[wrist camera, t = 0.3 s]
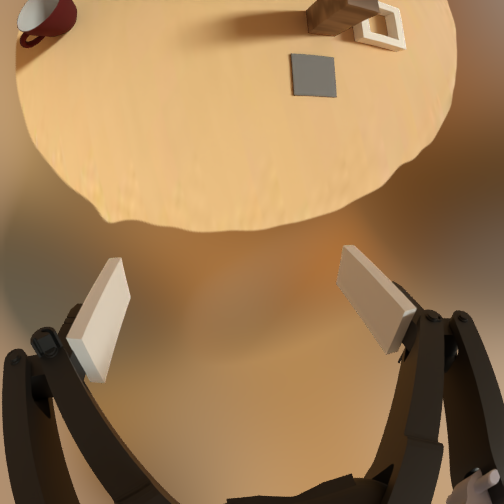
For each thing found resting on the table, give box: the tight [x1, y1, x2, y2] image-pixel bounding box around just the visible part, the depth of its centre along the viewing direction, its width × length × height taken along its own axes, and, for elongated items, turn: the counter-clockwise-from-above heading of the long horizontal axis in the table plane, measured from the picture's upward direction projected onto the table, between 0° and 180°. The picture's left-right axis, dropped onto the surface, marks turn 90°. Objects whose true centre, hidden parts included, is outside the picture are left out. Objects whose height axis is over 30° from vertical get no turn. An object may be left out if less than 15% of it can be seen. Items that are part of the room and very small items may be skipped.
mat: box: [291, 54, 337, 97], centre depth 34 cm, size 7×7×1 cm
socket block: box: [353, 1, 406, 52], centre depth 29 cm, size 9×9×3 cm
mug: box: [17, 0, 77, 48], centre depth 18 cm, size 10×8×10 cm
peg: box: [306, 0, 380, 36], centre depth 24 cm, size 4×4×14 cm
